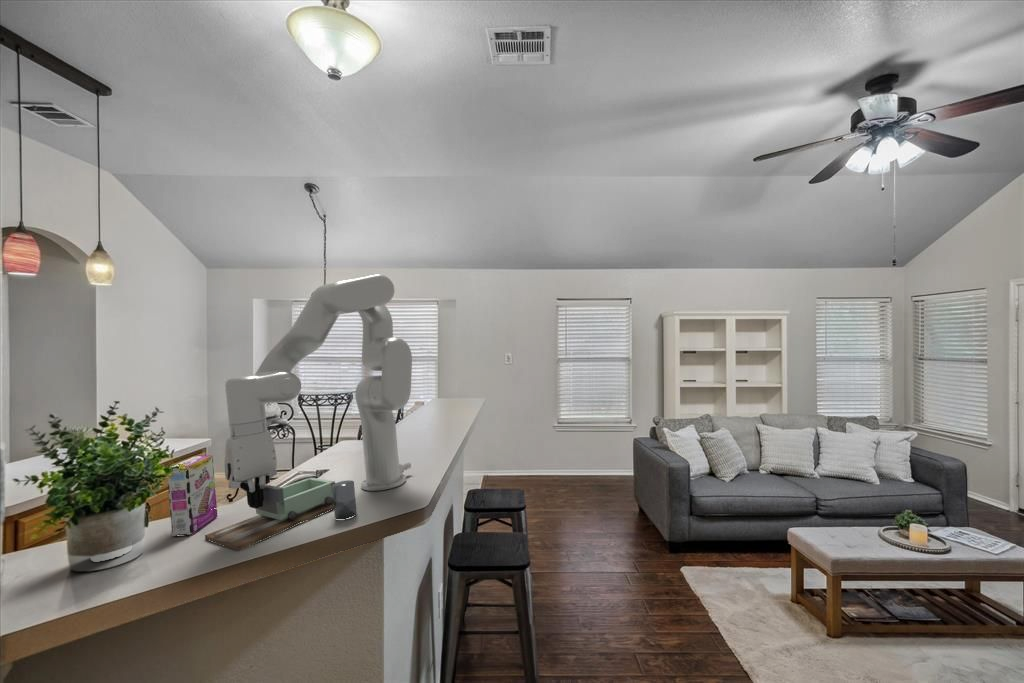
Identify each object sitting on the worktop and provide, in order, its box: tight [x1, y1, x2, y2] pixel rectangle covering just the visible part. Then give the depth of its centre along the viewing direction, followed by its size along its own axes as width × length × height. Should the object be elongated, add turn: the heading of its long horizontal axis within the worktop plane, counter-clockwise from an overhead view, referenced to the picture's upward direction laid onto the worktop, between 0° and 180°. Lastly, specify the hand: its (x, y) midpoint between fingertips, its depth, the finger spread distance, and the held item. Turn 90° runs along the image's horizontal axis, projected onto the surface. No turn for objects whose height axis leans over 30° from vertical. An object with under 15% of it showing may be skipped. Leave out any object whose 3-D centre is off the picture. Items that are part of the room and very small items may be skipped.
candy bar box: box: [167, 454, 218, 537], centre depth 115 cm, size 11×5×16 cm, turn 5°
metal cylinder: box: [332, 480, 358, 519], centre depth 113 cm, size 5×5×8 cm
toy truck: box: [255, 477, 336, 520], centre depth 118 cm, size 15×12×8 cm
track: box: [204, 501, 334, 552], centre depth 114 cm, size 28×14×3 cm, turn 147°
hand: (256, 506), depth 109 cm, fingers closed
